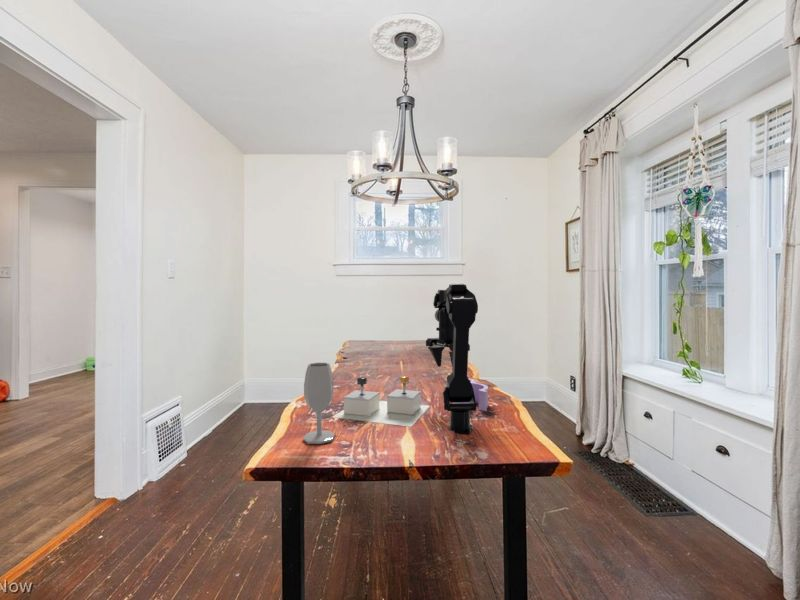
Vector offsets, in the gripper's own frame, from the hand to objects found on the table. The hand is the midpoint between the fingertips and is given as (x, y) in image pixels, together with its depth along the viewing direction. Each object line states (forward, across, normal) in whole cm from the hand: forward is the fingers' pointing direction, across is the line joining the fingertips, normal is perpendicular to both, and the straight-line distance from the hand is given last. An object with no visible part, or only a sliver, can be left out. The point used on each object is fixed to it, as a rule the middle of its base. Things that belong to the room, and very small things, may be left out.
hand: (446, 368), depth 136 cm
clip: (+14, 0, -10) cm, 17 cm away
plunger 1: (+10, +9, +29) cm, 32 cm away
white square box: (+13, +3, +16) cm, 21 cm away
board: (+14, +6, +23) cm, 27 cm away
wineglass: (+14, -6, +49) cm, 51 cm away
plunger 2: (+10, +3, +16) cm, 19 cm away
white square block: (+13, +9, +29) cm, 33 cm away
